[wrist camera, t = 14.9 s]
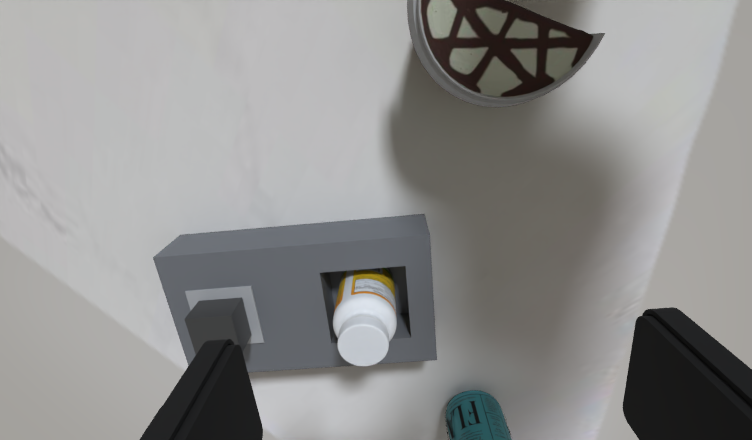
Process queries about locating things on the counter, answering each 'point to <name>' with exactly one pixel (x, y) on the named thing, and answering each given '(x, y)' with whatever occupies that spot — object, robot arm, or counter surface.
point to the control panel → (296, 289)
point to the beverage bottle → (476, 417)
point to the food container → (495, 49)
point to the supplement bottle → (365, 315)
